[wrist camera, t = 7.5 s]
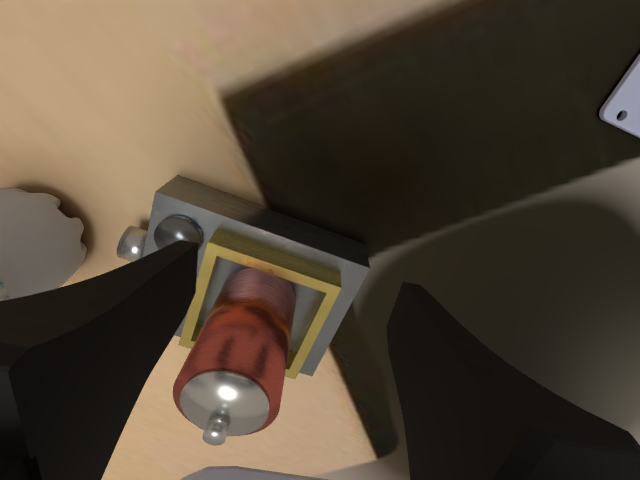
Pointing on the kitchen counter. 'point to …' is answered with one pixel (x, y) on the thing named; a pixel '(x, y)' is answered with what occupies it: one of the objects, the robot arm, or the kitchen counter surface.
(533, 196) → the kitchen counter surface
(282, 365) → the red metal cylinder
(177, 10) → the kitchen counter surface
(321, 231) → the grey socket block
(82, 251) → the bottle
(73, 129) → the kitchen counter surface
